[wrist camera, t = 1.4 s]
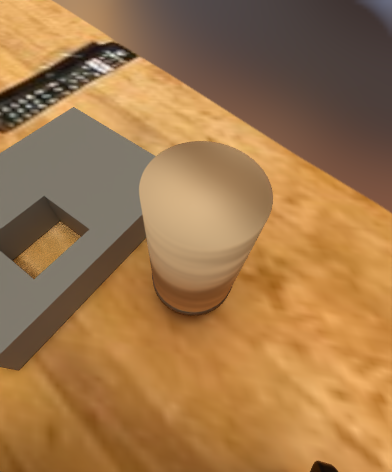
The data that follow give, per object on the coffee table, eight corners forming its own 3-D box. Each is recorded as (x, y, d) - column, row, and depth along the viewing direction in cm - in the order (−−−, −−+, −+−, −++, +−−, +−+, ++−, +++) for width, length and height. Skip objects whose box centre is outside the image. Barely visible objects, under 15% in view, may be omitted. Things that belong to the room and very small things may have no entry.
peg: (198, 341, 20) (227, 278, 10) (140, 296, 22) (107, 196, 11) (237, 283, 23) (296, 180, 12) (183, 246, 24) (191, 123, 13)
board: (18, 370, 19) (-12, 365, 16) (-93, 260, 22) (-136, 239, 19) (182, 199, 27) (183, 173, 24) (83, 136, 30) (73, 106, 27)
